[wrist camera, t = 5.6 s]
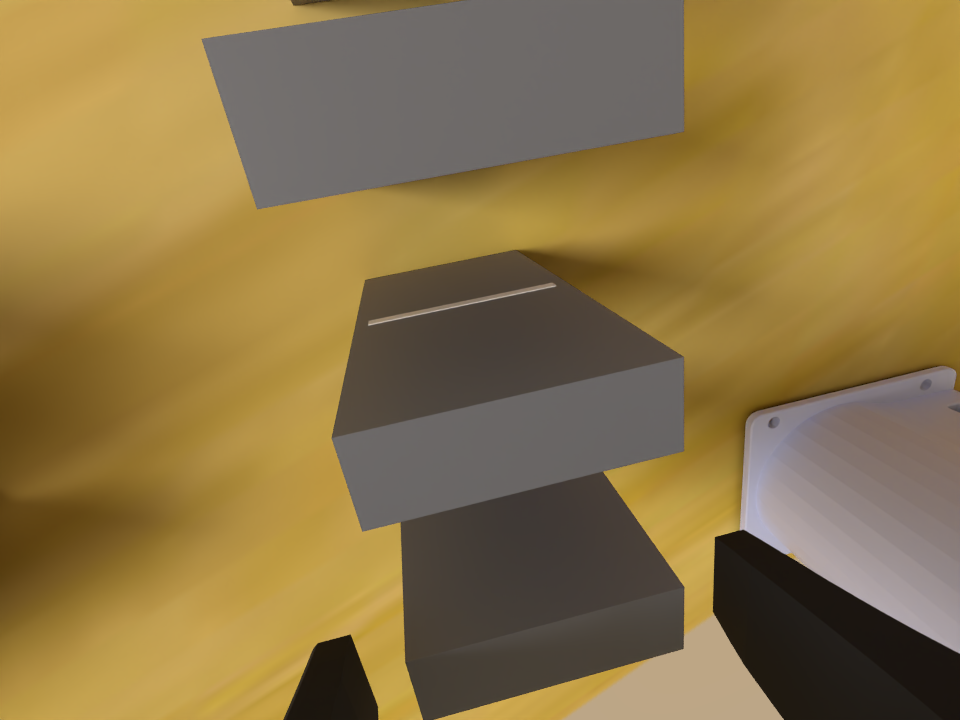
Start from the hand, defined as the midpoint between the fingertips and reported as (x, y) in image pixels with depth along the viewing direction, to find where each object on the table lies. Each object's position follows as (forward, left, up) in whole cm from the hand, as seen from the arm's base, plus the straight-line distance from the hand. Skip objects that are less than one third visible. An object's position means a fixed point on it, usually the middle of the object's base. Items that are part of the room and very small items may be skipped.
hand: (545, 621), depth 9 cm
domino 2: (0, -5, -9) cm, 10 cm away
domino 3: (0, 0, -9) cm, 9 cm away
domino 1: (0, -9, -9) cm, 13 cm away
